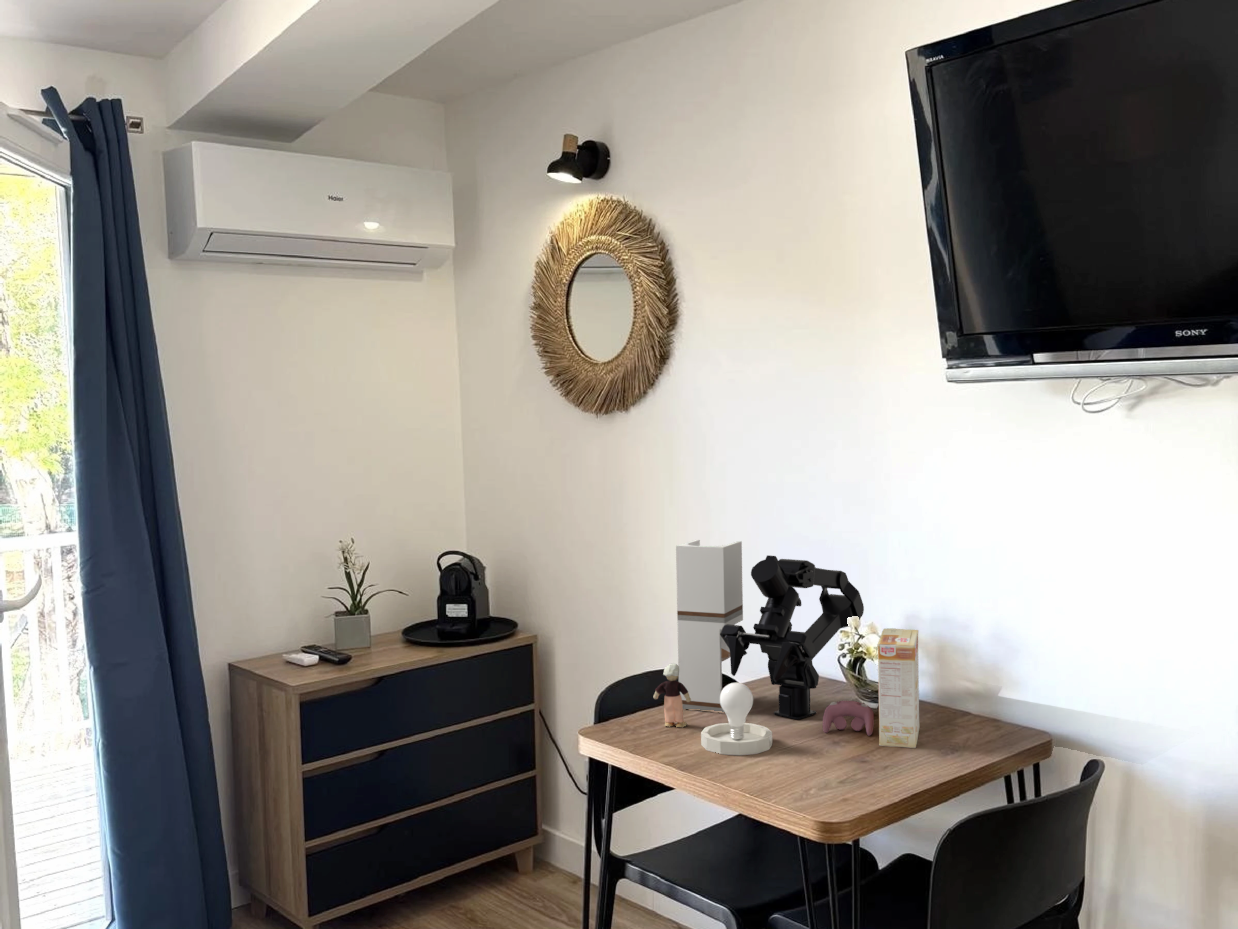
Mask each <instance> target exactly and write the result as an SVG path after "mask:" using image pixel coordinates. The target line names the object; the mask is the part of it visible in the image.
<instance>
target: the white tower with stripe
mask: <svg viewBox="0 0 1238 929" xmlns="http://www.w3.org/2000/svg"><path fill="white" fill-rule="evenodd" d="M700 541H701V540H700V539H695V540H691V541H687V542H685V543H681V544H678V545H676V546H675V553H676V554H675V558H676V559H675V560H676V562H675V563H676V564H675V567H676V568H675V569H676V605H677V606H676V607H677V608H676V609H677V610H676V614H677V615H676V616H677V657H678V658H677V662H678V664H677V665H678V666H679V669H680V670H679V676H678V682H680V683H682V684H683V685H684V686H685V688H686V689H687V690H688V693H689V697H690V698H691V701H690V702H687V701H686V698H685V697H684V695H683V694H682V693H681V692H680V695H681V698H682V706H683V709H700V710H714V711H722V712H724V711H723V709H722V707H721V705H720V694H721V691H722V690H723V671H722V667H723V665H722V662H724V661H727V660H728V659H730V649H729V647H728V646H727V644H726V643H725V641H724V640H723V638H722V637H721V635H720V633H721V630H722V628H723V626H724V625H727V624H729V625H737V624H739V623H740V622H741V621H743V620H744V610H743V609H744V606H743V605H744V603H743V601H744V600H743V597H744V596H743V549H742V548H743V547H742V545H743V544H742V543H743V542H742V540H741V541H740V540H739V541H735V542H734V541H733V542H732V543H728V544H724V545H723V544H722V545H714V546H712V545H709V546H703V545H701V542H700Z"/></svg>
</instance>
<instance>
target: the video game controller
mask: <svg viewBox="0 0 1238 929" xmlns="http://www.w3.org/2000/svg"><path fill="white" fill-rule="evenodd" d="M874 715H875V714H874V711H873V709H872V708H871V707H870V706H869V705H867V704H866V703H863V702H859V701H855V700H839V701H831V703H830V704H828V705H827V706H826V708H825V709H824V713H823V716H822V731H823V733H824V734H828V733H829V732H830V730H831V727H832V723H833V725H834V726H835V728H836V729H837V730H838V729H839V731H844V730H845V729H846V728H847V726H848V724H847V723H848V722H847V721H846V719H845V717H853V719H852V720H851V722H850V726H851V729H853V731H855V732H861V731H862V730H863V729H864V727H865V733H866V734H867V736H869V737H870V736H872V734H873V732H874V724H875V719H874V718H875V716H874Z"/></svg>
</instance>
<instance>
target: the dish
mask: <svg viewBox="0 0 1238 929" xmlns="http://www.w3.org/2000/svg"><path fill="white" fill-rule="evenodd" d="M700 745H701V747H703V748H704V749H705V751H708V752H711V753H715V752H716V753H715V754H718V753H719V755H729V756H746V755H748V756H749V755H757V754H761V753H763V752H767V751H769V750H770V749H771V748H772V746H773V731H772V730H770V729H769V728H768V727H767V726H764V725H760V724H756V723H751V722H749V723H748V722H745V724H744V738H742V739H741V740H739V741H735V740H733V739H732V738H730V724H729V722H721V723H715V724H713V725H712V724H711V725H708V726H706V727H704V728H703V730H702V731H701V732H700Z"/></svg>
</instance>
